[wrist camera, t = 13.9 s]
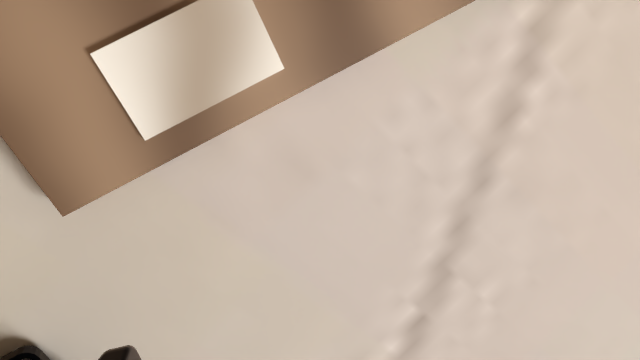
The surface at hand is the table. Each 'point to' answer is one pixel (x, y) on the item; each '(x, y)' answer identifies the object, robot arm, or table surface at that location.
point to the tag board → (167, 75)
